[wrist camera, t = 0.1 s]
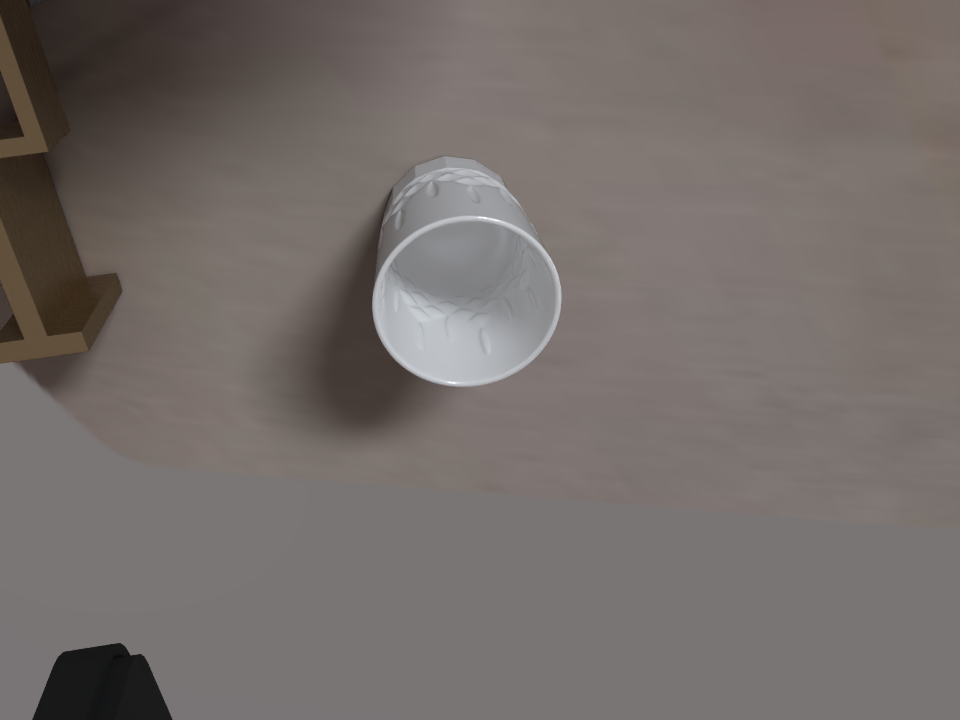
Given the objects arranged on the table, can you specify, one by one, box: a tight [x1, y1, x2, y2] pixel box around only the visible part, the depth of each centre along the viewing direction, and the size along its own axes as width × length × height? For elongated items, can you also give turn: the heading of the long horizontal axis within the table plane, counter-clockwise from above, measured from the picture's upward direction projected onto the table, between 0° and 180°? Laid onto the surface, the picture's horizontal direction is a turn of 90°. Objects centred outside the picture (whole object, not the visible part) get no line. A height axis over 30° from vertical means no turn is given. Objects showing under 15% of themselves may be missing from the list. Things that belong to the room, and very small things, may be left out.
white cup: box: [372, 156, 561, 387], centre depth 42 cm, size 8×8×10 cm
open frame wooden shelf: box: [0, 0, 122, 363], centre depth 39 cm, size 16×7×6 cm, turn 6°
